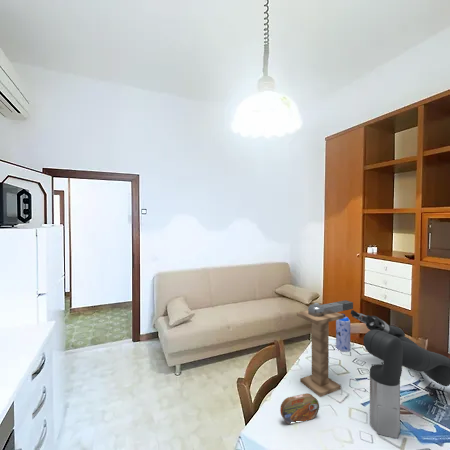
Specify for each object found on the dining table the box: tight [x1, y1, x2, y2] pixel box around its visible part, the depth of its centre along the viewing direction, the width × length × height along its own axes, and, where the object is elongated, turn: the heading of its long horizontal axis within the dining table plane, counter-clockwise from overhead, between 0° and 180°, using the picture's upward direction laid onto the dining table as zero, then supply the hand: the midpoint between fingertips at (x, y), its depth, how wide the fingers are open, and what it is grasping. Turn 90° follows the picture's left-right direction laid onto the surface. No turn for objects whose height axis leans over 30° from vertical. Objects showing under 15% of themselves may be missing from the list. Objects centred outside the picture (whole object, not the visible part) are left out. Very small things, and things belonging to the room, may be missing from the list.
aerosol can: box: [335, 313, 352, 353], centre depth 155 cm, size 8×8×20 cm
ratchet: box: [307, 299, 354, 317], centre depth 123 cm, size 24×6×5 cm, turn 117°
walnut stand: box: [296, 309, 344, 398], centre depth 120 cm, size 16×12×32 cm
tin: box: [279, 392, 320, 425], centre depth 99 cm, size 15×3×8 cm, turn 106°
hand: (359, 314), depth 132 cm, fingers open, 8 cm apart
